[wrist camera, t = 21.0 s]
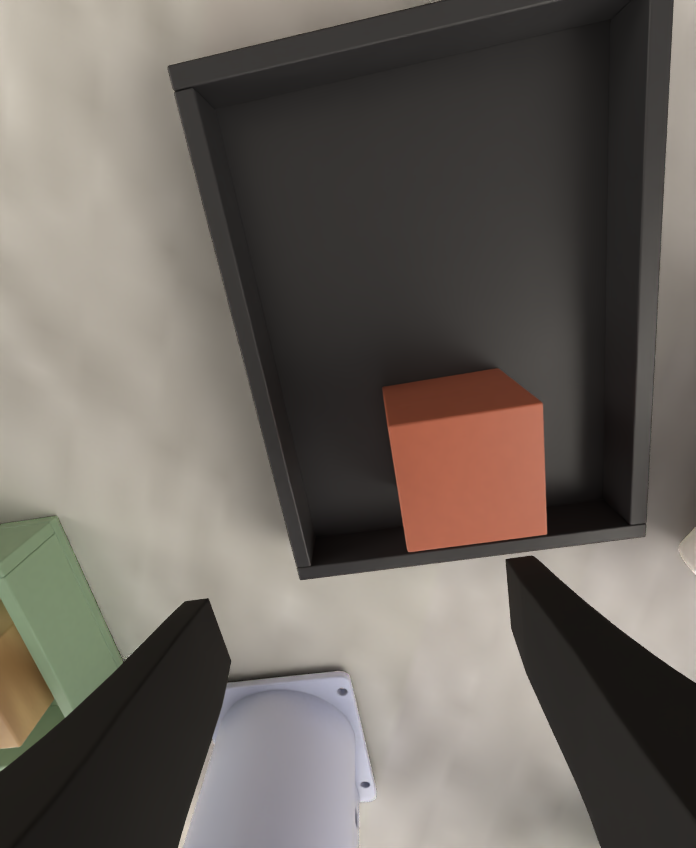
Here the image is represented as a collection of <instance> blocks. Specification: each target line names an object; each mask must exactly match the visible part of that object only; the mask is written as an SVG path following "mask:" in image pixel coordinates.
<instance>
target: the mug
mask: <svg viewBox="0 0 696 848" xmlns="http://www.w3.org/2000/svg"><path fill="white" fill-rule="evenodd" d="M678 549H679V553H680V556H681V558H682V559H683V561H684V562H685V563H686V565H687V566H688V567H689V568H690V569H691V571H692V572H693V573H694V574H695V575H696V527H695V528H694V529H693V530H692V531H691V532H690V533H689V534H688V535H687V536H686V537H685V538H684V540H683V541H682V542H681V543H680V544H679V547H678Z"/></svg>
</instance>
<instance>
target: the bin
mask: <svg viewBox="0 0 696 848" xmlns="http://www.w3.org/2000/svg"><path fill="white" fill-rule="evenodd" d="M0 598H1V600H2V602H3V604H4V606H5V608H6V610H7V611H8V613H9V615H10V617H11V619H12V621H13V623H14V624H15V626H16V628H17V630H18V632H19V634H20V636H21V637H22V639H23V641H24V643H25V645H26V647H27V649H28V650H29V652H30V654H31V656H32V658H33V660H34V661H35V663H36V665H37V667H38V669H39V671H40V673H41V674H42V676H43V678H44V680H45V682H46V684H47V686H48V687H49V689H50V691H51V693H52V695H53V697H54V700H53V702H52V703H51V705H50V706H49V707H48V709H47V710H46V712H45V713H44V715H43V716H42V717H41V719H40V720H39V722H38V723H37V724H36V726H35V727H34V729H33V730H32V731H31V733H30V734H29V736H28V737H27V739H26V740H25V741H24V743H23V744H22V745H21V746H20V747H14V748H3V749H0V771H2V770H3V769H4V768H5V767H7V766H8V765H9V764H11V763H12V762H13V761H14V760H16V759H17V758H18V757H19V756H20V755H22V754H23V753H24V752H25V751H27V750H28V749H29V748H30V747H31V746H33V745H34V744H35V743H36V742H37V741H39V740H40V739H41V738H42V737H43V736H45V735H46V734H47V733H48V732H49V731H50V730H52V729H53V728H54V727H55V726H56V725H57V724H59V723H60V722H61V721H62V720H63V719H64V718H65V717H66V716H68V715H69V714H70V713H71V712H72V711H73V710H74V709H75V708H76V707H77V706H78V705H79V704H80V703H82V702H83V701H84V700H85V699H86V698H87V697H88V696H89V695H90V694H91V693H92V692H93V691H94V690H95V689H96V688H98V687H99V686H100V685H101V684H102V683H103V682H104V681H105V680H106V679H107V678H108V677H109V676H110V675H111V674H112V673H113V672H114V671H115V670H116V669H117V668H118V667H119V666H120V665H121V664H122V663H123V661H122V658H121V656H120V654H119V652H118V650H117V647H116V645H115V643H114V641H113V639H112V636H111V634H110V632H109V630H108V628H107V625H106V623H105V621H104V619H103V617H102V614H101V612H100V610H99V608H98V606H97V603H96V601H95V599H94V597H93V594H92V592H91V590H90V588H89V586H88V583H87V581H86V579H85V577H84V575H83V572H82V570H81V568H80V566H79V564H78V561H77V559H76V557H75V555H74V553H73V550H72V548H71V546H70V544H69V542H68V539H67V537H66V535H65V533H64V530H63V528H62V526H61V524H60V522H59V519H58V517H57V516H52V517H45V518H38V519H31V520H24V521H18V522H11V523H4V524H0Z"/></svg>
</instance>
